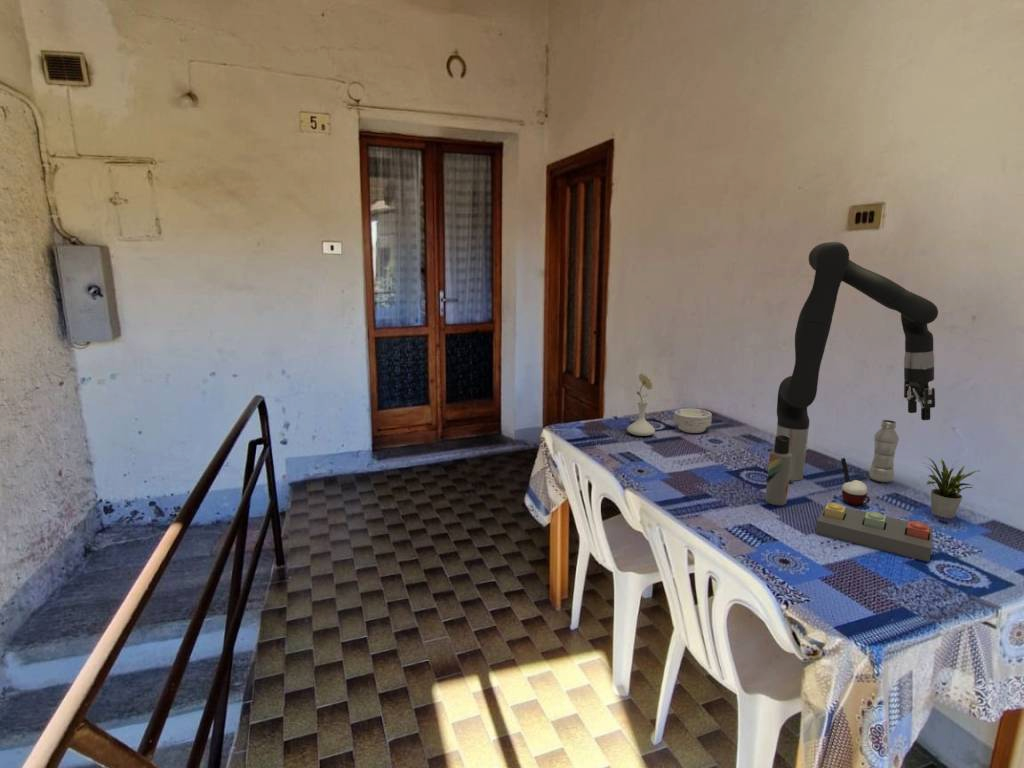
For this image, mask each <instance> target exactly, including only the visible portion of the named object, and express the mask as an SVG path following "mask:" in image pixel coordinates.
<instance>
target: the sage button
mask: <svg viewBox="0 0 1024 768" xmlns="http://www.w3.org/2000/svg"><path fill="white" fill-rule="evenodd" d="M866 512H867V513H866V516H865V520H864V525H866V526H870V527H874V528H878V529H882V530H884V526H885V519H886V517H887V515H885V514H882V513H881V512H877V511H866Z"/></svg>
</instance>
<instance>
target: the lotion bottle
mask: <svg viewBox="0 0 1024 768" xmlns="http://www.w3.org/2000/svg"><path fill="white" fill-rule="evenodd" d="M773 445H774V446H773V448H774V450H773V449H772V450H771V451H770V452H769V461H768V462H769V463H768V471H767V479H766V480H767V481H766V489H765V490H766V491H765V502H766V503H768V504H770V505H772V506H773V505H774V506H779V507H780V506H785V505H786V504H787V501H788V492H789V484H790V480H789V477H790V468H791V459H792V454H791V453H789V445H790V438H788V437H787V436H783V435H779V436H777V437H776V436H775V438H774V444H773Z"/></svg>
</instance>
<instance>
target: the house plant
mask: <svg viewBox="0 0 1024 768" xmlns="http://www.w3.org/2000/svg"><path fill="white" fill-rule="evenodd" d="M924 458H927V459H928V460H930V461H931V462H932V464H933V465H931V464H928V463H927V465H928V466H930V467H931V468H932V469H933V470H934V471H935V472H934V471H933V470H932V469H931V468H930V467H928V469H929V470H930V471H931V472H932V474H929V475H928V477H929V478H930V479H931V480H933V481H931V480H928V481H927V482H926V484H925V486H927V485H932V486H935V484H936V485H937V487H935V488H934V489H933V488H932V489H930V507H931V514H932V513H933V514H932V515H934V514H935V515H934V516H936V515H937V516H936V517H939V516H940V517H939V518H942V517H944V519H955V517H956V514H957V511H958V509H959V507H960V504H961V501H962V499H963V495H962V494H960V493H962V491H963V490H966V489H973V487H974V485H973V484H970V483H967V482H966V483H963V482H962V481H963V480H964V479H967V477H969V476H971V475H973V474H974V473H977V472H980V470H974V471H972V472H969V473H966V474H965V473H963V471H964V469H965V465H963V466H962V467H961V468H960V469H959V471H958V473H957V474H956V475H954V476H951V475H952V473H953V470H954V469H955V468H956V466H955V467H953V466H954V465H955V463H956V462H957V461H959V460H958V459H957V460H956V462H954V463H953V464H952V467H950V468H951V469H950V470H949V471H948V467H947V466H946V463H945V461H944V459H942V458H940V459H939V460H940V462H941V465H942V471H941V472H940V470H939V469H938V466H937V464H936V463H935V461H934V460H933V459H931V458H930V457H928V456H925V455H924ZM923 464H925V465H926V463H925V462H923ZM925 465H924V467H926V468H927V466H925ZM935 473H936V474H935ZM962 473H963V474H962ZM937 476H938V477H939V478H938V477H937ZM920 478H922V479H923V476H922V477H921V476H920ZM924 479H926V478H925V477H924ZM926 480H927V479H926ZM962 486H965V487H963V488H961V487H962ZM972 486H973V487H972Z"/></svg>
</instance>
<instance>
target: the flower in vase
mask: <svg viewBox="0 0 1024 768" xmlns="http://www.w3.org/2000/svg"><path fill="white" fill-rule="evenodd" d="M638 380H639V381H640V383H641V386H640V388H639V390H636V394H637V395H638V396H639V397H640V399H639V400H635V401H636V403H637V406H638V418H637V419H636V420H635V421H634V422H632V423H631V424H629V425H628V426H627V428H626V431H627V432H628V433H629V434H632V435H634V436H639V437H640V436H641V437H644V436H645V437H646V436H652V435H654V434H655V433H656V429H655V427H654V425H652V424H650V423H649V422H648V421H647V420H646V418H645V417H646V416H645V415H646V414H645V413H646V408H647V406H648V404H649V400H644V399H643V398H644V397H647V396H648V394H646V395H643V396H642V394H641V390H642V388H643V386H644V388H646V389H647V390H652V389H653V384H652V381H651V379H650V378H649V377H648V376H647V375H646V374H644V373H643V372H642V373H639V374H638Z"/></svg>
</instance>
